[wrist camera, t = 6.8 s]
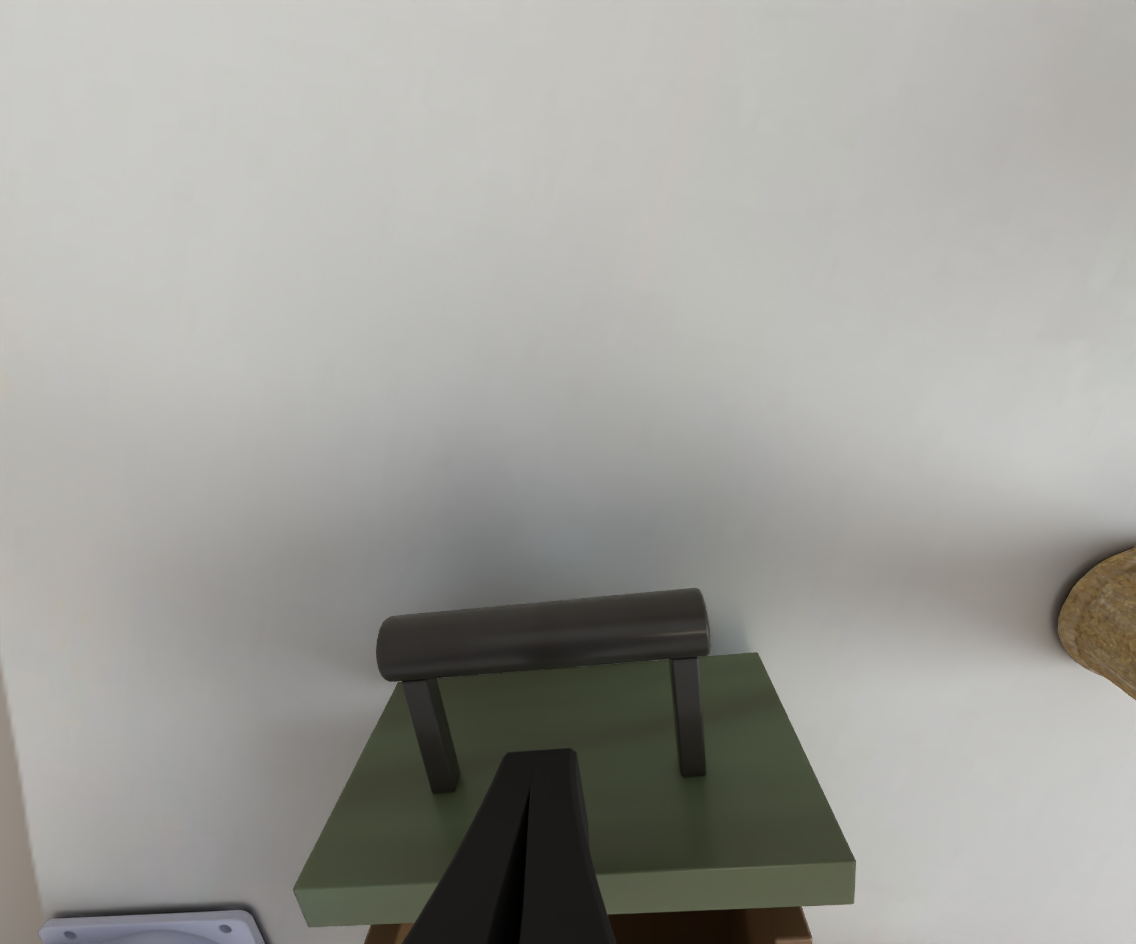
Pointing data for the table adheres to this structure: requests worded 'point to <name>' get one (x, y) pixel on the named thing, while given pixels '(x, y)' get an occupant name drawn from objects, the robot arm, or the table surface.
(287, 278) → the table surface
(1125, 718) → the table surface
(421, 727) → the drawer
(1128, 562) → the sprinkles bottle
